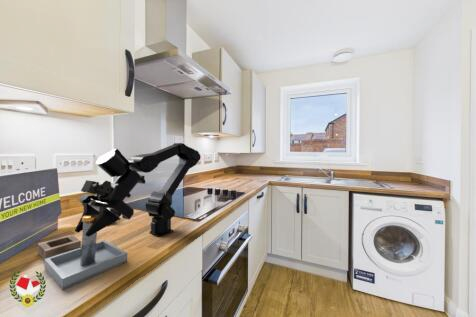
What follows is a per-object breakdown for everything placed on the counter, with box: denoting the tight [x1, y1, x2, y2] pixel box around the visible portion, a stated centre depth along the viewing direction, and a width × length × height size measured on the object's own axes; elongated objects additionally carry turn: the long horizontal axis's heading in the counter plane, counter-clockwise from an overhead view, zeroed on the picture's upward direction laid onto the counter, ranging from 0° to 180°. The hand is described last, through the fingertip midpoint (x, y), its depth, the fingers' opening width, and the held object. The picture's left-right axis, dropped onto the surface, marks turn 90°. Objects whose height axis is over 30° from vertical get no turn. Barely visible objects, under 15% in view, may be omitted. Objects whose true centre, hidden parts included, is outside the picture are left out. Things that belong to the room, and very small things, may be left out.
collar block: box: [37, 234, 82, 262], centre depth 59 cm, size 8×8×3 cm
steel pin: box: [80, 214, 99, 266], centre depth 53 cm, size 4×4×12 cm
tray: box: [44, 239, 128, 291], centre depth 53 cm, size 14×14×2 cm
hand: (81, 233), depth 51 cm, fingers open, 5 cm apart
